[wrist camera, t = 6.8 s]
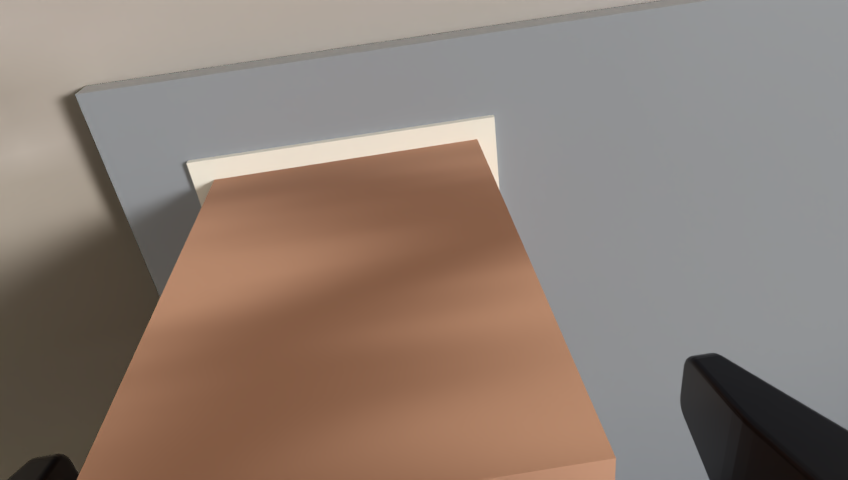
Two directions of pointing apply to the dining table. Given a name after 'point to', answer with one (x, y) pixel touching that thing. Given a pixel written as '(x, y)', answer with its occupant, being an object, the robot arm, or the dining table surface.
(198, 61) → the dining table surface
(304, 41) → the dining table surface
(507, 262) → the terracotta block
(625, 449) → the two-wall tray
